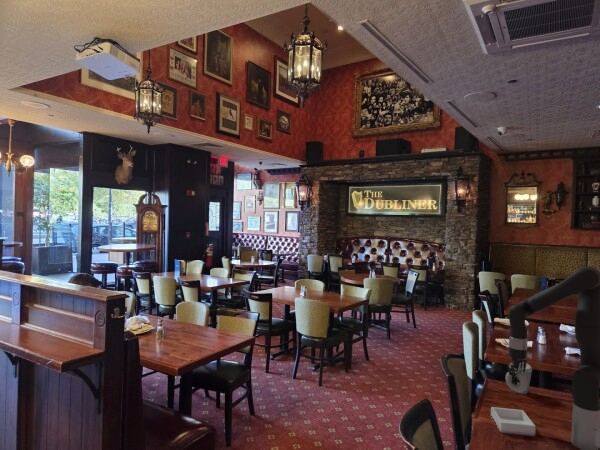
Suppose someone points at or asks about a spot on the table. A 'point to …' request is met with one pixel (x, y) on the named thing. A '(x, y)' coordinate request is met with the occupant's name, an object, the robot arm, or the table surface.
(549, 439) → the table surface
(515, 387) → the donut
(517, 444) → the table surface
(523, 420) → the walled tray
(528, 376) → the disposable coffee cup
